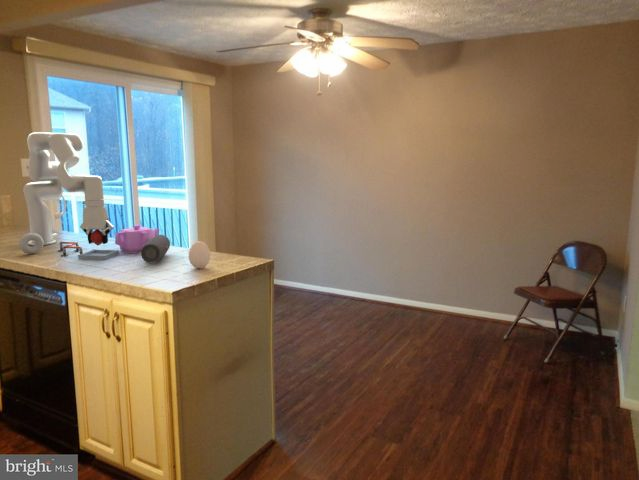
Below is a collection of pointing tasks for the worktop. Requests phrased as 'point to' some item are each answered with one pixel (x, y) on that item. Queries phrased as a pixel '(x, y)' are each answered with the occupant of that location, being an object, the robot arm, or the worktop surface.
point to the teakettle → (134, 238)
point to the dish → (98, 254)
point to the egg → (199, 254)
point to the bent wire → (63, 248)
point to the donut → (26, 238)
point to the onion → (96, 237)
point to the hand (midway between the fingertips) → (98, 242)
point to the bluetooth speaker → (155, 249)
